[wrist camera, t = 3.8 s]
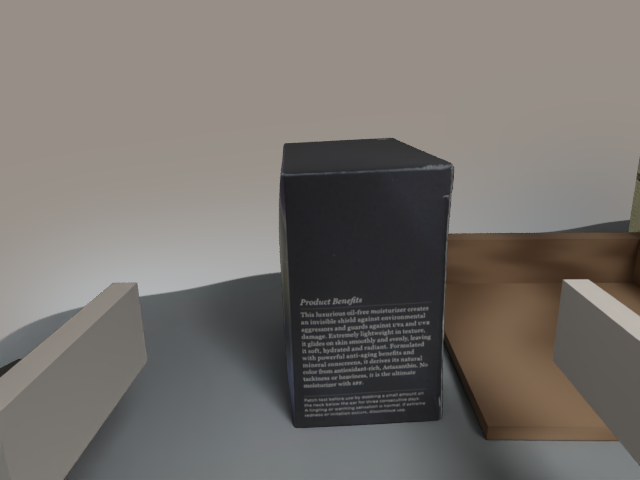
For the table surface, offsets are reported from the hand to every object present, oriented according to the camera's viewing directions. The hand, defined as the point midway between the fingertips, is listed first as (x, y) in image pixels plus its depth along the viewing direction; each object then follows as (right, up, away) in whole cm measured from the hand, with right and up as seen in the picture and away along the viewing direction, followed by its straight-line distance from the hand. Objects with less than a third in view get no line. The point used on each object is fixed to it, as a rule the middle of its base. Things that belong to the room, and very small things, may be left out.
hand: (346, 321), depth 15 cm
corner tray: (+13, -3, +11) cm, 17 cm away
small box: (+1, -4, +9) cm, 10 cm away
